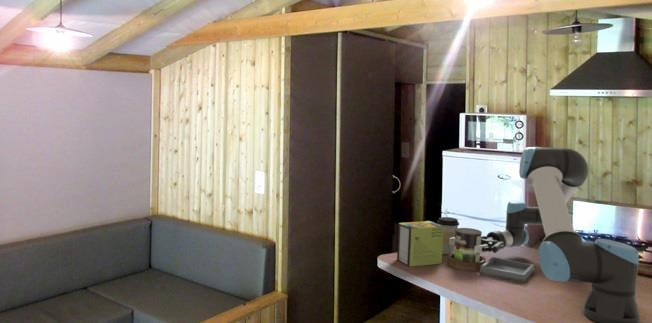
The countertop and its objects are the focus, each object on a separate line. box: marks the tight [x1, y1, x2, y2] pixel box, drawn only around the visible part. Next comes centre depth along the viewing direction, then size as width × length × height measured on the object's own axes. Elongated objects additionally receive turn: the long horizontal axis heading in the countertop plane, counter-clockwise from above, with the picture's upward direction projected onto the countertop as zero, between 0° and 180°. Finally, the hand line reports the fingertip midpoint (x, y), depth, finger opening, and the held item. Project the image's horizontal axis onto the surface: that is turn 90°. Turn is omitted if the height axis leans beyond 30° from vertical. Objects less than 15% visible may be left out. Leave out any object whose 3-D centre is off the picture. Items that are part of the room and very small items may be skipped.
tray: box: [479, 256, 535, 284], centre depth 194 cm, size 16×16×3 cm
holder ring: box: [447, 253, 487, 272], centre depth 203 cm, size 14×14×3 cm
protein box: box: [396, 220, 444, 267], centre depth 206 cm, size 10×15×16 cm
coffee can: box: [454, 227, 483, 262], centre depth 203 cm, size 10×10×14 cm
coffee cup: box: [436, 216, 460, 255], centre depth 220 cm, size 9×9×15 cm
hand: (462, 245), depth 201 cm, fingers open, 13 cm apart
